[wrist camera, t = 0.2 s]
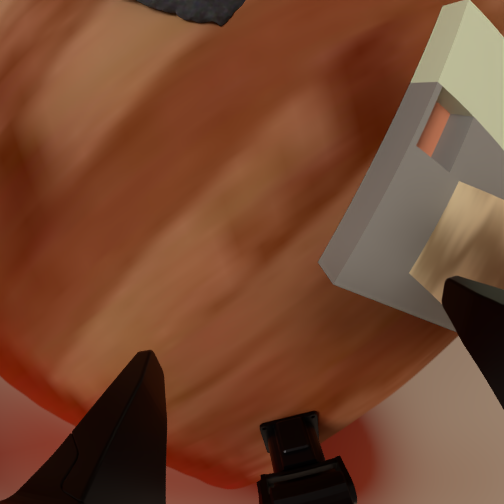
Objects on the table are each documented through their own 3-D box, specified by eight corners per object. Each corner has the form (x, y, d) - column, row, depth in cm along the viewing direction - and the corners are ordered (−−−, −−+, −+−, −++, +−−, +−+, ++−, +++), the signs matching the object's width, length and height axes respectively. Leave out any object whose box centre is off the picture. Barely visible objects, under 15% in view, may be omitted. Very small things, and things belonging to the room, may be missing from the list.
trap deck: (448, 317, 30) (465, 335, 27) (317, 262, 25) (333, 284, 22) (541, 123, 22) (564, 129, 19) (442, 6, 17) (468, -1, 14)
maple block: (456, 297, 24) (518, 358, 16) (408, 273, 22) (481, 344, 14) (500, 220, 22) (574, 264, 14) (459, 181, 20) (551, 223, 12)
